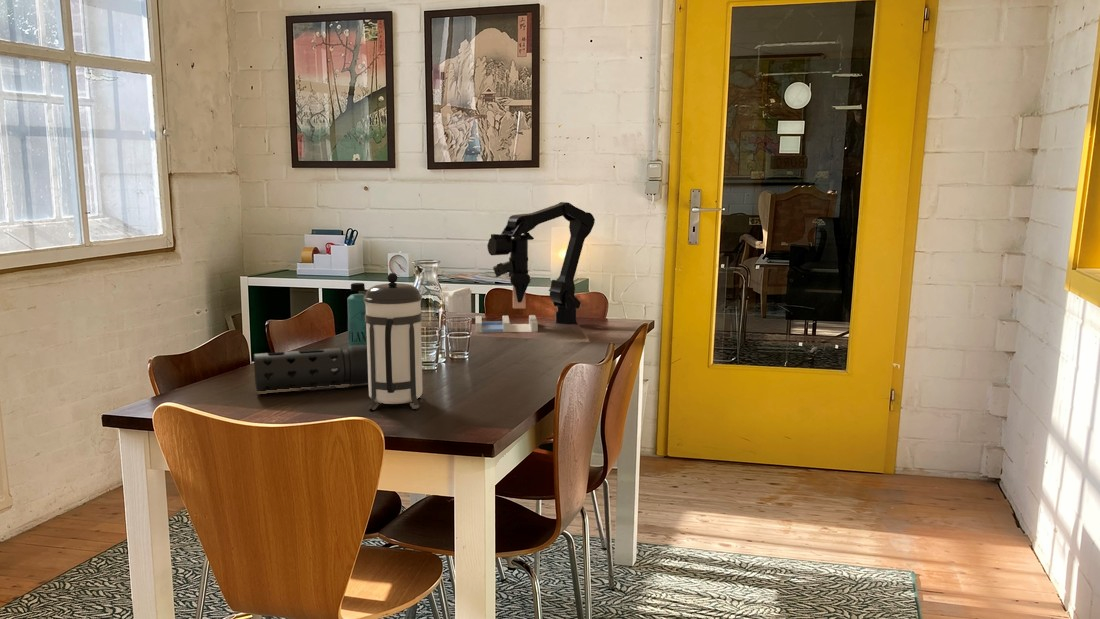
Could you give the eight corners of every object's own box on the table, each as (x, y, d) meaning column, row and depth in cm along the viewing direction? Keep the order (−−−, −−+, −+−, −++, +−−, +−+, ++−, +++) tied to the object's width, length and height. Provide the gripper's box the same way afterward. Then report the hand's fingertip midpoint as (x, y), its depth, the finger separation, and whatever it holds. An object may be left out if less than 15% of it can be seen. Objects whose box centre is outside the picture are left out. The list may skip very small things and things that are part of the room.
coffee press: (345, 405, 194) (340, 273, 189) (404, 392, 205) (400, 267, 200) (389, 420, 182) (384, 280, 177) (449, 406, 193) (446, 274, 188)
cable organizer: (446, 316, 311) (445, 285, 309) (472, 318, 308) (472, 286, 306) (426, 323, 297) (426, 290, 295) (454, 325, 294) (453, 292, 292)
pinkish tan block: (524, 306, 284) (524, 279, 283) (525, 308, 281) (525, 281, 279) (512, 306, 284) (512, 279, 283) (513, 308, 280) (513, 281, 279)
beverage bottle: (344, 352, 251) (341, 284, 248) (354, 347, 257) (352, 281, 254) (364, 353, 249) (362, 284, 246) (374, 348, 256) (372, 281, 252)
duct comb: (534, 326, 291) (534, 315, 290) (537, 334, 277) (537, 322, 277) (475, 327, 289) (475, 315, 289) (475, 335, 276) (475, 323, 275)
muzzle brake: (255, 391, 207) (253, 349, 205) (372, 381, 217) (371, 341, 215) (256, 400, 198) (254, 357, 197) (378, 390, 208) (377, 348, 206)
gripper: (493, 251, 288) (494, 297, 291) (494, 256, 270) (495, 306, 272) (526, 251, 289) (526, 297, 291) (530, 256, 271) (530, 305, 273)
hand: (519, 301), depth 282 cm, fingers closed on pinkish tan block, 4 cm apart
